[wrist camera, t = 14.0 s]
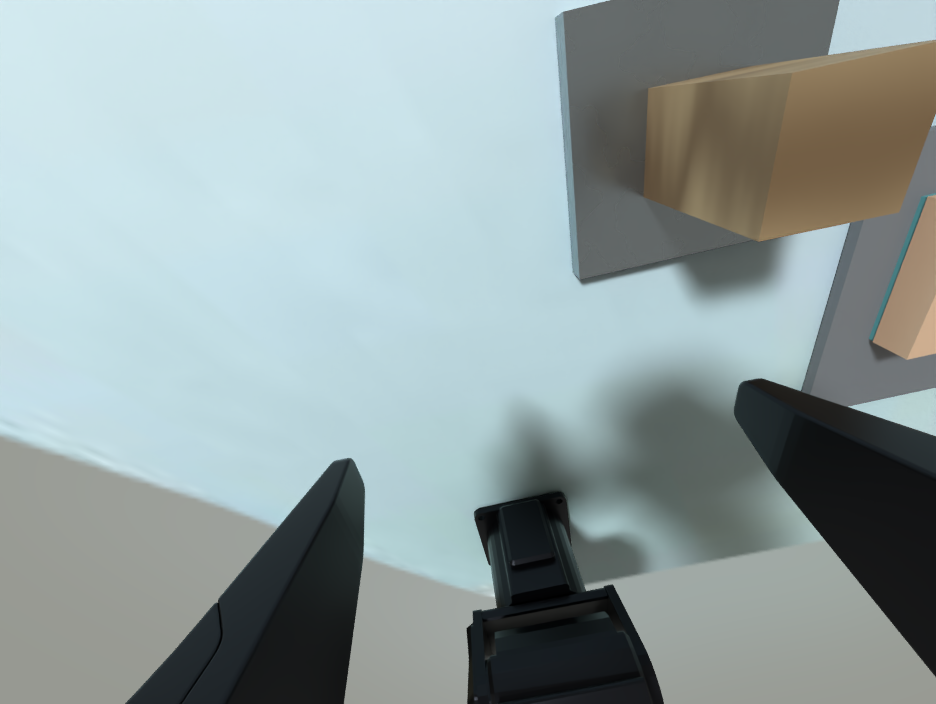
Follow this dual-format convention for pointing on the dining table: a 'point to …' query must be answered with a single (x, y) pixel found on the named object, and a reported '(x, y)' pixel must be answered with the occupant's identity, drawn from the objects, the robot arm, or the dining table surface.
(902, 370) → the rubber mat
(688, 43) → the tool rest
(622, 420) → the dining table surface
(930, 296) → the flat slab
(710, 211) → the walnut block
